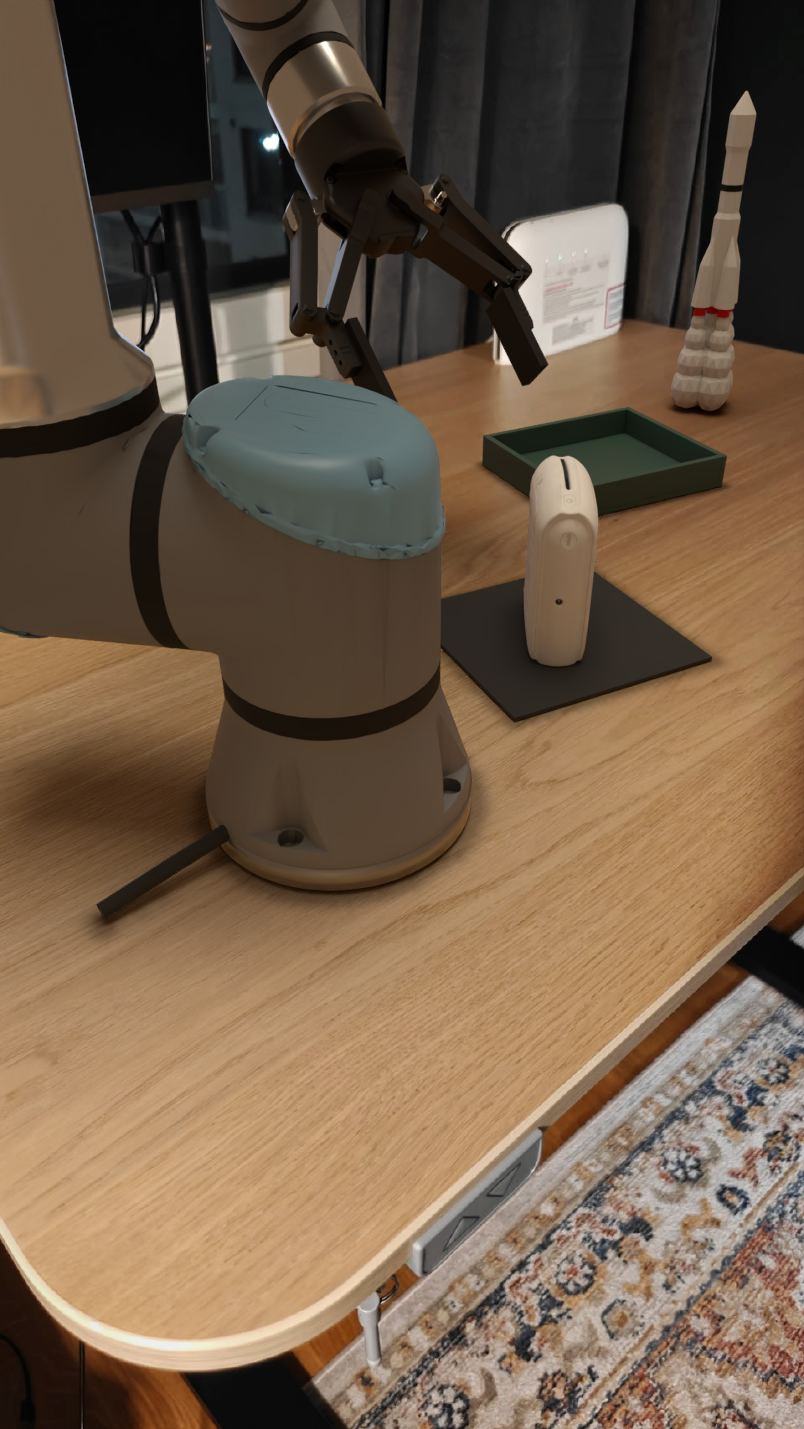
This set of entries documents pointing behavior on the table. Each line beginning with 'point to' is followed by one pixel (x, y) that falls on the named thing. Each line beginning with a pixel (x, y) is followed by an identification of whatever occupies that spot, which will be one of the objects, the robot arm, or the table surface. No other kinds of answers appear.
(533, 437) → the tray
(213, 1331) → the table surface
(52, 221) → the robot arm
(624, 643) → the mat
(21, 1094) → the table surface
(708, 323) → the rocket model
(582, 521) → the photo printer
